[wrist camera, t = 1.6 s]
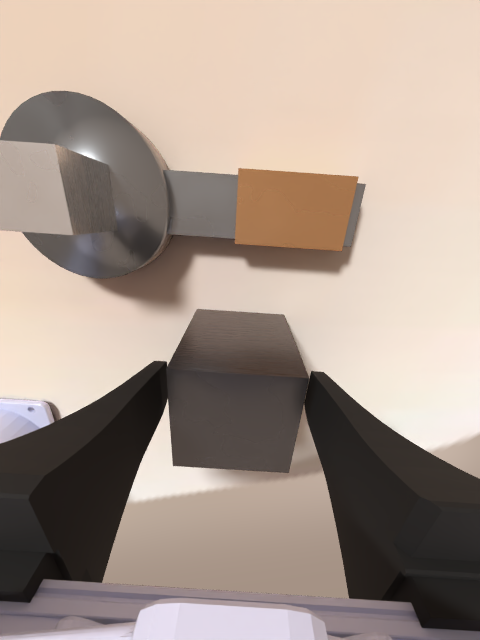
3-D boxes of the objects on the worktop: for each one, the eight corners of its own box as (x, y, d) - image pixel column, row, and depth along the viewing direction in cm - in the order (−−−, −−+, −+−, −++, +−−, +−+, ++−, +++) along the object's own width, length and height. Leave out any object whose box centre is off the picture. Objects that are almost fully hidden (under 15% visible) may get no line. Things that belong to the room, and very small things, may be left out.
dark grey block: (197, 380, 16) (173, 465, 10) (197, 309, 14) (166, 369, 8) (273, 384, 16) (288, 472, 10) (283, 314, 14) (309, 378, 8)
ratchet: (53, 266, 13) (-44, 291, 9) (13, 105, 10) (-157, 22, 6) (332, 285, 13) (375, 318, 9) (366, 130, 10) (454, 67, 6)
